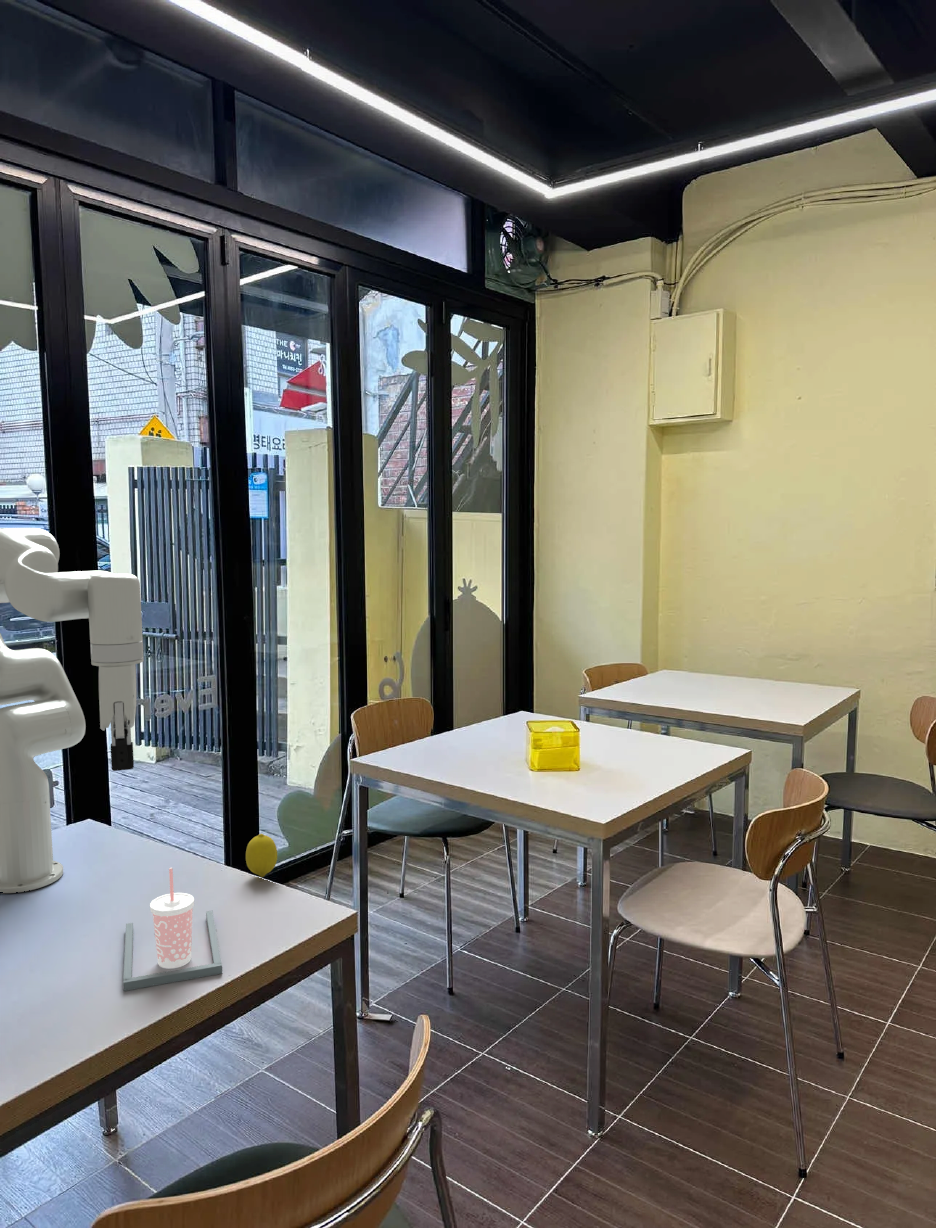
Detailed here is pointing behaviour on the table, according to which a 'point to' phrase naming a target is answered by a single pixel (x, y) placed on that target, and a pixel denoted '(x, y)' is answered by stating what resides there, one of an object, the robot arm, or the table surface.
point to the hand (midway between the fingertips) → (122, 768)
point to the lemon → (261, 855)
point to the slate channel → (173, 975)
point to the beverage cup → (173, 927)
